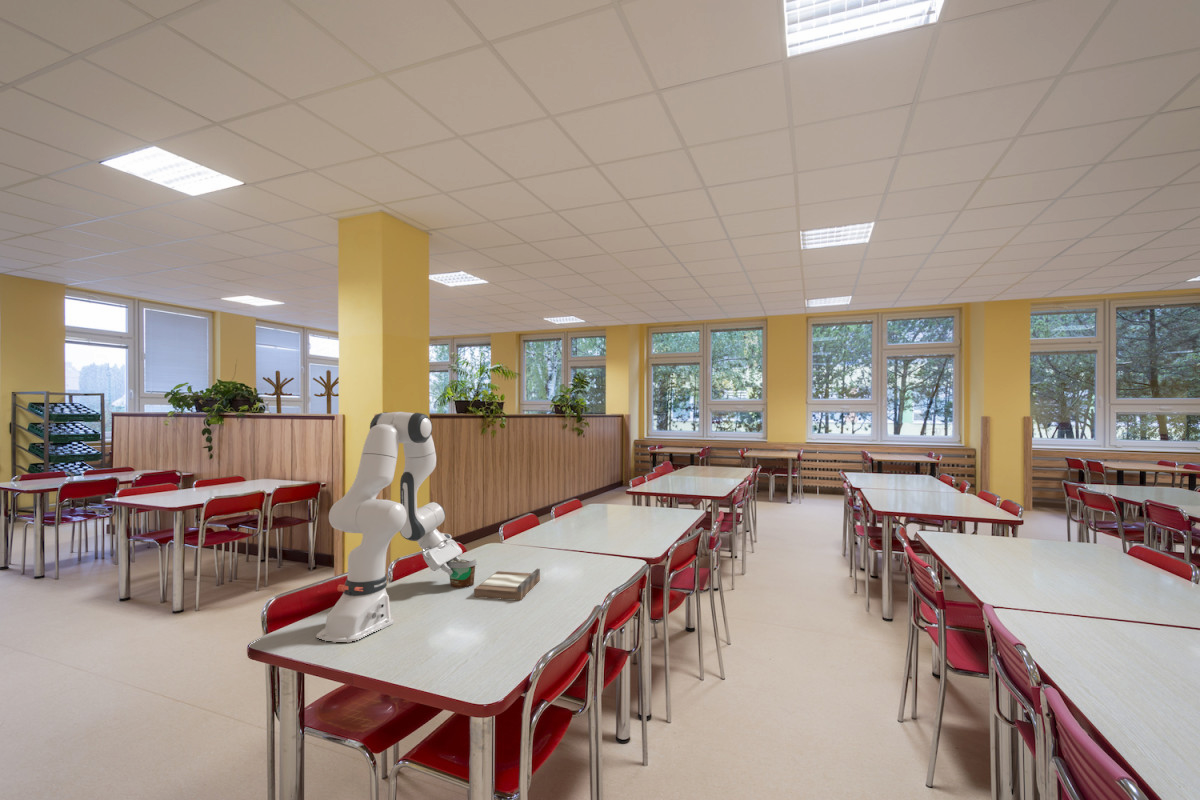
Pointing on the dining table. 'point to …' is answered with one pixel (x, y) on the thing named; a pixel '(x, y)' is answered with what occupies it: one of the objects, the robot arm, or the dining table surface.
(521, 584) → the block
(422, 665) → the dining table surface
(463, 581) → the food container
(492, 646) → the dining table surface
